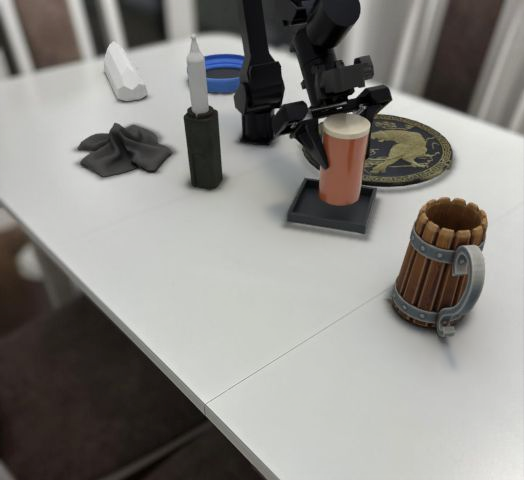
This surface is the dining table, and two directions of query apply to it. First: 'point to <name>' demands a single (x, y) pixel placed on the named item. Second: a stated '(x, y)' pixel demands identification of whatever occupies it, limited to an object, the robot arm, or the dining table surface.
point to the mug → (442, 265)
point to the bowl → (223, 72)
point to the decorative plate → (401, 152)
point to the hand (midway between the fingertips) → (347, 163)
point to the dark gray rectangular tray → (331, 209)
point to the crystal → (123, 74)
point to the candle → (201, 126)
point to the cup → (343, 158)
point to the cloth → (123, 150)
